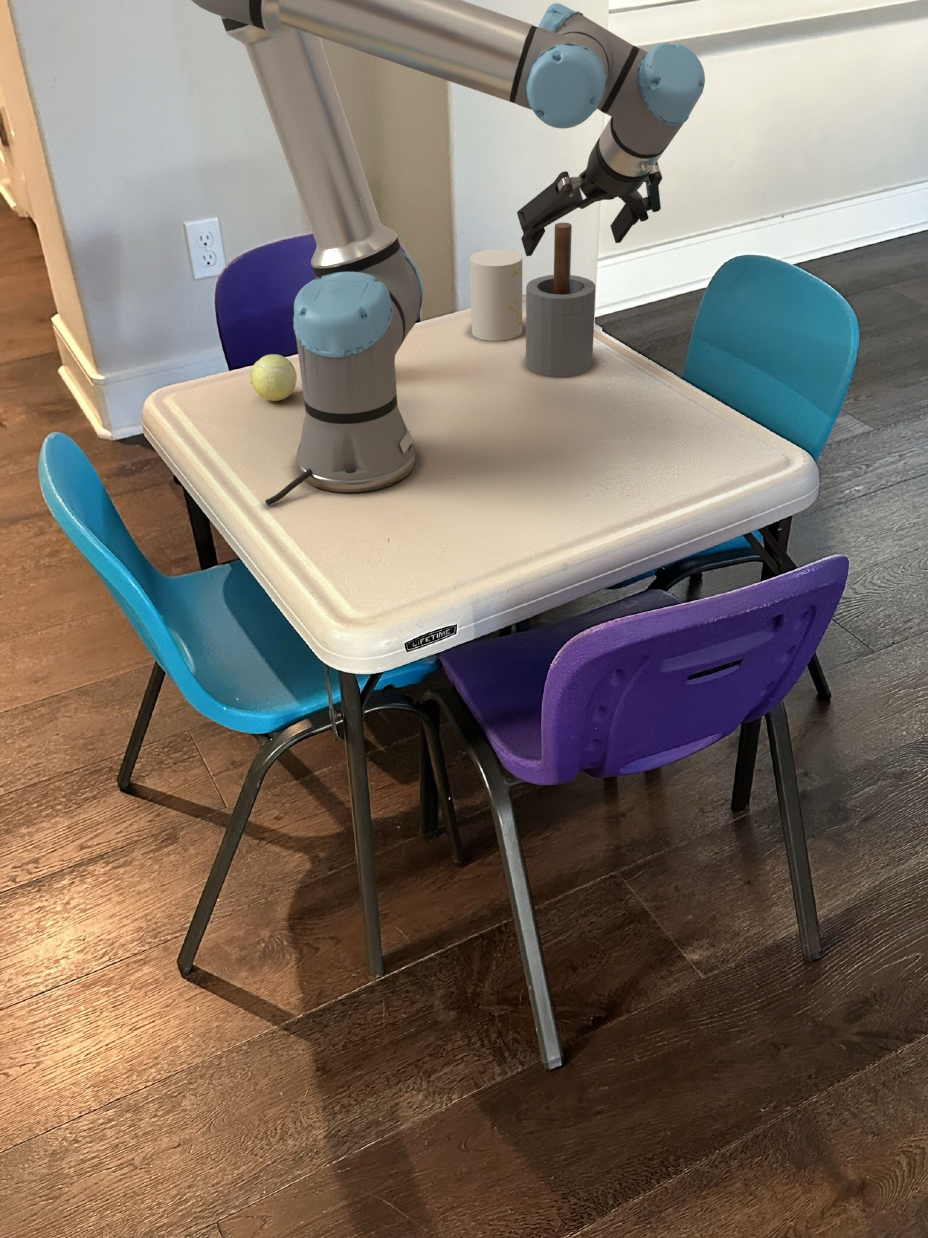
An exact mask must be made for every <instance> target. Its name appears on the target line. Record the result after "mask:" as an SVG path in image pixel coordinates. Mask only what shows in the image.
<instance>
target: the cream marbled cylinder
mask: <svg viewBox="0 0 928 1238" xmlns="http://www.w3.org/2000/svg"><path fill="white" fill-rule="evenodd" d="M469 261H470V262H469V263H470V264H469V267H470V306H471V307H470V308H471V309H470V311H471V333H472V336H473V337H475V338H477V339H478V340H479V339H480V340H483V341H490V342H503V341H509V340H512V339H516V338H518V337H520V336H521V335H522V333H523V255H522V253H520V252H519V251H515V250H512V249H506V248H489V249H483V250H480V251H476V252H474V253H472V254H471V255H470V257H469Z"/></svg>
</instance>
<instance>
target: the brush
mask: <svg viewBox="0 0 928 1238" xmlns="http://www.w3.org/2000/svg"><path fill="white" fill-rule="evenodd" d="M572 228H573V225H572V223H569V222H557V223H555V224H554V237H553V238H554V239H553V240H554V241H553V242H554V244H553V275H554V286H553V294H561V295H564V294H570V275H571V267H572V266H571V265H572V263H571V262H572V230H573V229H572Z"/></svg>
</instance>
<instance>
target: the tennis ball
mask: <svg viewBox="0 0 928 1238" xmlns="http://www.w3.org/2000/svg"><path fill="white" fill-rule="evenodd" d="M297 380H298V379H297V371H296V368H295V367H294V364H293V363H292V362H291V361H290V360H289V358H287V357H286V356H283V355H280V354H277V353H276V354H266V355H264V356H262V357H260V359H258V360H257V361H255V363H254V364H253V365H252V367H251V370H250V381H249V382H250V385H251V386H252V388H253V390H254V391H255V392H256V393H257V394H258V395H259V396H260V397H261V398H262V399H264V400H267V401H270V402H271V401H272V402H278V401H282V400H285V399H286V398H288V397H289V396H290V395H291V394H293V392H294V390H295V388H296V385H297Z"/></svg>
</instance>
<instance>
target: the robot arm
mask: <svg viewBox="0 0 928 1238" xmlns="http://www.w3.org/2000/svg"><path fill="white" fill-rule="evenodd" d="M190 1H191V2H192V3H194V4H195V5H197V6H198V7H199V8H200V9H203V10H205V11H207V12H209V13H211V14H214V15H217V16H219V17H220V19H221V22H222V25H223V26H224V30H225V33H226V35H227V36H229V37H231V38H233V39H235V40H236V41H238V42H240V43H241V44H242V45H243V46H245V49H246V52H247V55H248V58H249V61H250V63H251V66H252V69H253V71H254V74H255V77H256V79H257V82H258V85H259V88H260V91H261V94H262V96H263V99H264V102H265V105H266V108H267V110H268V113H269V116H270V118H271V119H270V120H271V121H272V123H273V128H274V130H275V133H276V136H277V138H278V140H279V144H280V146H281V149H282V152H283V155H284V157H285V161H286V163H287V166H288V168H289V171H290V174H291V178H292V180H293V182H294V185H295V188H296V191H297V193H298V196H299V199H300V201H301V204H302V207H303V210H304V213H305V216H306V218H307V221H308V224H309V226H310V230H311V232H312V235H313V238H314V241H315V243H316V248H315V251H314V252H313V255H312V257H311V259H310V264H311V267H312V270H313V273H314V276H315V279H312V280H311V281H310V282H307V283H306V284H305V285H303V287H302V288H301V289H300V290H299V291H298V292H297V294H296V296H295V299H294V303H293V313H294V314H293V319H292V320H293V331H294V334H295V339H296V347H297V354H298V355H297V356H298V363H299V371H300V380H301V389H302V395H303V402H304V411H305V413H304V420H303V424H302V430H301V435H300V442H299V444H298V448H297V451H296V465H297V472H298V474H299V476H297V477H296V478H294V480H292V481H290V482H289V483H288V484H287V485H286V486H285V487H283V488H282V489H281V490H280V491H278V493H276V494H275V495H273V496H271V497H269V498H267V499H265V504H266V505H267V506H270V505H273V504H275V503H278V502H279V501H280V500H281V499H283V498H284V497H285V496H287V495H288V494H290V492H292V490H294V489H295V488H297V487H298V486H300V484H302V483H303V482H304V481H305V482H306V483H308V484H309V485H311V486H313V487H316V488H318V489H322V490H326V491H330V492H336V493H337V492H338V493H362V492H370V491H374V490H375V491H376V490H379V489H383V488H386V487H389V486H391V485H394V484H396V483H398V482H400V481H401V480H403V479H404V478H406V477H407V476H408V475H409V474H410V473H411V472H412V471H413V469H414V468H415V465H416V455H415V454H416V451H415V450H416V449H415V445H414V439H413V436H412V433H411V431H410V430H408V428H407V425H406V423H405V421H404V418H403V415H402V414H401V411H400V408H399V405H398V392H397V378H396V377H397V376H396V375H397V374H396V356H397V353H398V351H399V350H400V348H401V346H402V345H403V343H404V342H405V340H406V338H407V337H408V335H409V333H410V332H411V330H412V329H413V328H414V327H415V324H416V322H417V321H418V318H419V317H420V314H421V309H422V305H423V300H424V285H423V280H422V276H421V273H420V271H419V268H418V267H417V265H416V264H415V262H414V261H413V260H412V258H411V257H410V256H409V255H408V254H406V253H404V252H403V250H402V247H401V243H400V241H399V237H398V234H397V233H396V231H395V230H393V229H391V228H390V227H387V226H385V224H383V223H382V222H381V220H380V217H379V214H378V211H377V208H376V205H375V202H374V199H373V195H372V192H371V190H370V187H369V183H368V181H367V178H366V174H365V171H364V168H363V165H362V162H361V158H360V155H359V153H358V150H357V147H356V143H355V140H354V137H353V135H352V131H351V129H350V126H349V122H348V119H347V116H346V113H345V110H344V107H343V104H342V100H341V98H340V95H339V92H338V88H337V86H336V82H335V80H334V75H333V73H332V71H331V67H330V64H329V62H328V58H327V55H326V52H325V49H324V45H323V43H322V40H321V39H324V40H326V41H330V42H333V43H335V44H339V45H341V46H344V47H348V48H350V49H353V50H356V51H359V52H363V53H366V54H367V55H371V56H374V57H377V58H380V59H383V60H386V61H389V62H391V63H394V64H398V65H400V66H403V67H406V68H409V69H412V70H415V71H418V72H421V73H424V74H427V75H430V76H433V77H436V78H439V79H442V80H445V81H448V82H451V83H454V84H455V85H459V86H463V87H465V88H469V89H471V90H473V91H477V92H480V93H483V94H486V95H489V96H492V97H495V98H498V99H501V100H503V101H507V102H509V103H512V104H515V105H517V106H520V107H522V108H525V109H528V110H532V112H533V113H534V114H535V116H536V117H537V118H538V119H539V120H540V121H541V122H542V123H544V125H547V126H549V127H552V128H555V129H562V130H563V129H572V128H574V127H578V126H580V125H581V124H583V123H584V122H585V121H587V120H588V119H589V118H590V117H591V116H592V115H593V114H594V113H595V112H596V111H597V110H598V111H600V112H601V113H603V114H606V115H607V116H609V117H610V119H609V120H608V122H607V124H606V125H605V127H604V129H603V130H602V132H601V133H600V135H599V138H598V139H597V141H596V142H595V144H594V146H593V147H592V150H591V151H590V153H589V156H588V160H587V164H586V168H585V169H584V171H582V172H581V173H580V174H579V175H578V176H570V174H569V171H567V170H566V171H562V172H559V174H558V176H557V177H556V178H555V180H554V181H553V182H552V183H551V184H549V185H548V186H546V188H545V189H543V190H542V191H541V192H540V193H538V194H537V195H536V196H534V197H533V198H532V199H530V200H529V201H528V202H526V204H525V205H523V206H522V207H521V208H520V209H519V210H517V212H516V214H517V218H518V221H519V225H520V229H521V230H522V233H523V234H522V236H521V238H520V240H521V243H522V246H523V250H524V253H525V256H526V257H532V256H533V254H534V252H535V250H536V249H537V247H538V245H539V243H540V242H541V240H542V238H543V236H544V235H545V232H546V229H545V228H546V227H548V226H549V225H551V224H553V223H554V222H556V221H558V220H559V219H561V218H563V217H565V216H566V215H569V214H570V213H571V212H573V211H575V210H577V209H580V210H583V209H586V208H587V207H589V206H590V205H592V204H594V203H597V202H601V201H611V200H614V199H616V198H618V199H620V200H621V201H622V202H623V203H624V205H623V206H622V208H621V209H620V210H619V212H618V213H617V215H616V216H615V218H614V220H613V221H612V223H611V224H610V229H611V233H612V236H613V240H614V243H615V244H620V243H621V242H622V241H623V239H624V238H625V237H626V235H627V234H628V233H629V231H630V230H631V229H632V227H633V226H635V225H636V224H637V223H638V222H647V221H648V220H649V217H650V216H649V214H648V212H649V211H651V212H652V213H657V212H660V210H661V209H662V207H661V206H662V205H661V197H660V195H661V194H660V184H661V182H662V180H663V174H662V172H661V168H660V165H659V162H658V161H659V160H660V158H661V157H662V155H663V154H664V152H665V151H666V150H667V148H668V147H669V145H670V144H671V142H672V141H673V140H674V139H675V137H676V135H677V134H678V133H679V131H680V130H681V128H682V127H683V126H684V124H685V122H687V121H688V120H689V119H690V116H691V114H692V112H693V110H694V108H695V106H696V105H697V103H698V101H699V100H700V98H701V96H702V95H703V92H704V89H705V84H706V76H705V70H704V66H703V64H702V62H701V60H700V59H699V57H698V56H697V55H696V54H695V53H694V52H693V51H692V50H691V49H689V48H688V47H687V46H685V45H682V44H680V43H675V44H674V43H669V42H662V43H659V44H656V45H654V46H653V47H652V48H651V49H650V50H649V51H646V50H644V49H643V48H640V47H637V46H636V45H633V44H632V43H630V42H629V41H626V40H625V39H623V38H622V37H620V36H618V35H616V34H615V33H613V32H612V31H610V30H608V29H607V28H605V27H603V26H602V25H600V24H598V23H597V22H595V21H593V20H591V19H590V18H588V17H586V16H585V15H584V13H583V12H581V11H578V10H577V11H575V10H574V9H571V8H570V7H568V6H565V5H564V4H562V3H559V2H555V3H552V4H550V5H549V6H548V7H547V9H546V10H545V13H544V14H543V16H542V18H541V20H540V22H539V24H538V26H537V25H533V24H532V23H529V22H526V21H523V20H521V19H518V18H515V17H511V16H509V15H506V14H503V13H501V12H497V11H494V10H491V9H488V8H486V7H482V6H479V5H477V4H475V3H471V2H468V1H465V0H190ZM644 183H645V189H646V190H645V191H646V196H645V197H643V195H642V194H641V193H640V192H639V191H638V190H639V189H640V188H641V187H642V186H643V184H644ZM582 194H583V195H584V197H585V198H583V195H582Z"/></svg>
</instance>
